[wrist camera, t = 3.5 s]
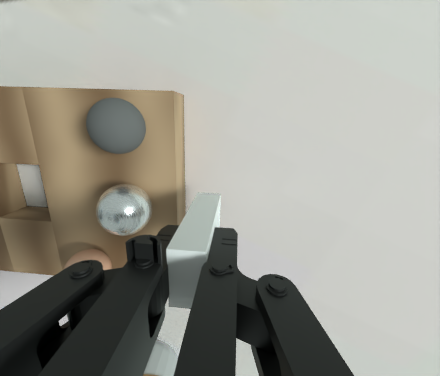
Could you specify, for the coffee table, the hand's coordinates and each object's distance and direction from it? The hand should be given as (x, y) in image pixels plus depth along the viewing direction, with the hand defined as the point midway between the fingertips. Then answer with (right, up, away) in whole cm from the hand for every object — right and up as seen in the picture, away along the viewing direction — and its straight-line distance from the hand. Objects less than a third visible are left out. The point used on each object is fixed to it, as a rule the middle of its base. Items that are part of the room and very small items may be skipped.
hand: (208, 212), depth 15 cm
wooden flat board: (-11, +2, +4) cm, 12 cm away
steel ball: (-6, 0, 0) cm, 6 cm away
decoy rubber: (-5, +5, -2) cm, 8 cm away
